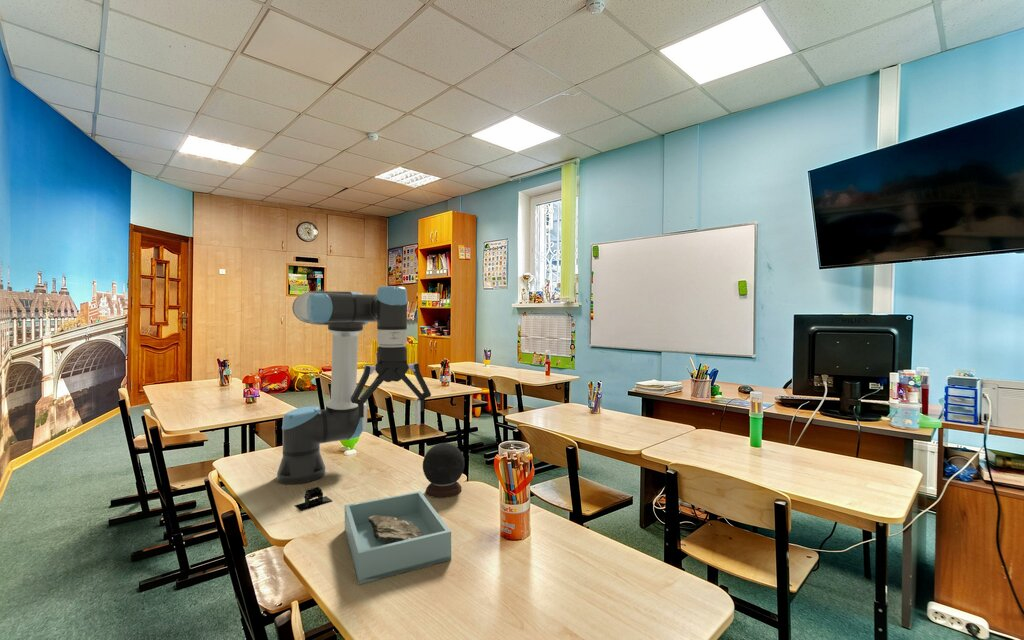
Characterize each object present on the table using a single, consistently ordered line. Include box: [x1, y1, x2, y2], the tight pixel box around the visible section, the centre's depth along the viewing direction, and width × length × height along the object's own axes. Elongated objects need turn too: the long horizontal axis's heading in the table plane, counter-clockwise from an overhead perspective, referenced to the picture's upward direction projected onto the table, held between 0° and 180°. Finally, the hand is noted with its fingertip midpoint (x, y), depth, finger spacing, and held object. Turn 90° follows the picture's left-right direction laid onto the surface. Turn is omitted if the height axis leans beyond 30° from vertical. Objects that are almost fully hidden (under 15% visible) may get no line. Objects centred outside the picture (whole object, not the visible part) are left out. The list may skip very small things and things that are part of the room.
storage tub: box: [344, 490, 452, 585], centre depth 107 cm, size 26×20×6 cm
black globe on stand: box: [422, 442, 465, 499], centre depth 139 cm, size 13×13×15 cm
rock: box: [368, 515, 424, 544], centre depth 108 cm, size 18×11×4 cm, turn 70°
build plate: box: [293, 486, 334, 512], centre depth 130 cm, size 12×7×5 cm, turn 136°
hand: (391, 426), depth 115 cm, fingers open, 13 cm apart
